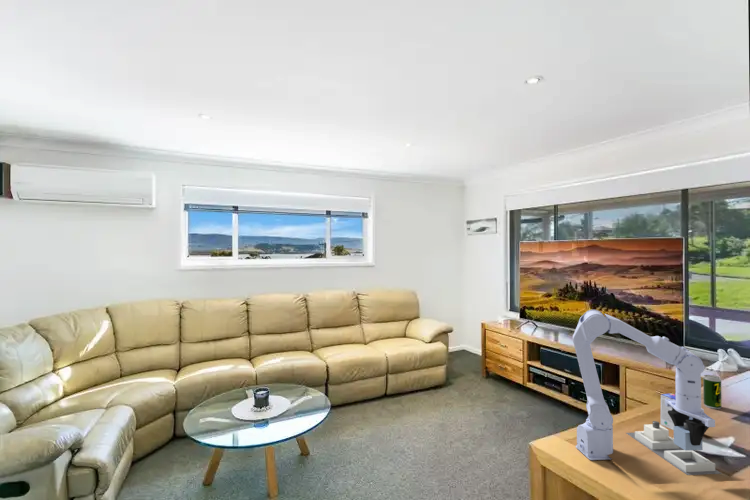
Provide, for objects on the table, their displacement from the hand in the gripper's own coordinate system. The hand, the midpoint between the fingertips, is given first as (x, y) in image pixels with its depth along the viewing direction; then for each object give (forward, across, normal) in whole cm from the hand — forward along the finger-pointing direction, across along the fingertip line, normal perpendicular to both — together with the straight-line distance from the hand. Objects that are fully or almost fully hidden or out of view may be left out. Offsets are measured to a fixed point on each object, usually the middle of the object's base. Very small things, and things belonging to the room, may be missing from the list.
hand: (688, 440), depth 109 cm
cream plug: (+7, +12, 0) cm, 14 cm away
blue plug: (+2, 0, 0) cm, 2 cm away
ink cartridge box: (+8, +20, -15) cm, 26 cm away
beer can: (+8, +40, -46) cm, 62 cm away
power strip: (+8, +7, 0) cm, 11 cm away
